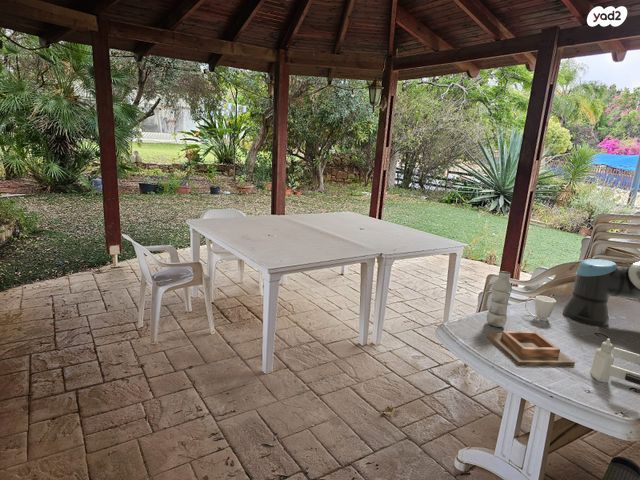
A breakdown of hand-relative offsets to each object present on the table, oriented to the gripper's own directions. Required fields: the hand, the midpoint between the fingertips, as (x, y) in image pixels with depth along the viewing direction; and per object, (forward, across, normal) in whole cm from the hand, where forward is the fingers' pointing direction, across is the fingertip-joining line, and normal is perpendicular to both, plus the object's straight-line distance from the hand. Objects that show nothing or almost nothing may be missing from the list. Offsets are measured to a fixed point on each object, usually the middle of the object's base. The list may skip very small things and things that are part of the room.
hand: (611, 360), depth 112 cm
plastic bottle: (+34, +15, -7) cm, 38 cm away
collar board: (+21, +3, -6) cm, 22 cm away
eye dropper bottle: (+2, +1, -7) cm, 7 cm away
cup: (+24, +36, -7) cm, 44 cm away
